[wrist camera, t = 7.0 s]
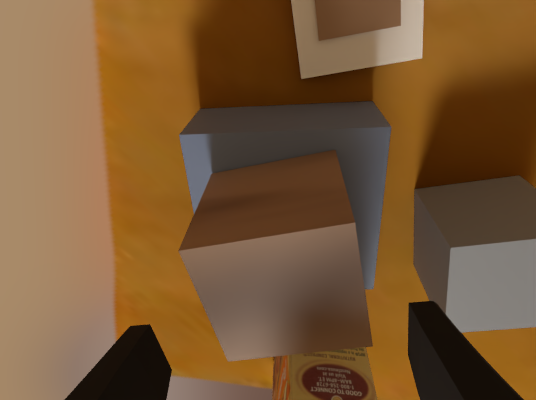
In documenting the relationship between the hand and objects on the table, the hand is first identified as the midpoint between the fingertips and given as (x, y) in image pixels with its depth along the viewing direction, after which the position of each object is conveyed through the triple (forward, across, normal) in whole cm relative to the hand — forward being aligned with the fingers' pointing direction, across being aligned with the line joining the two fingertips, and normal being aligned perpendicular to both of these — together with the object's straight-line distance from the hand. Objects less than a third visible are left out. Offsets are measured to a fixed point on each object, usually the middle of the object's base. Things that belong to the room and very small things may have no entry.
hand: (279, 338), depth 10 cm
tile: (+10, -4, -8) cm, 13 cm away
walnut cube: (+6, 0, 0) cm, 6 cm away
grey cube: (+10, -9, +4) cm, 14 cm away
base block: (+10, 0, 0) cm, 10 cm away
